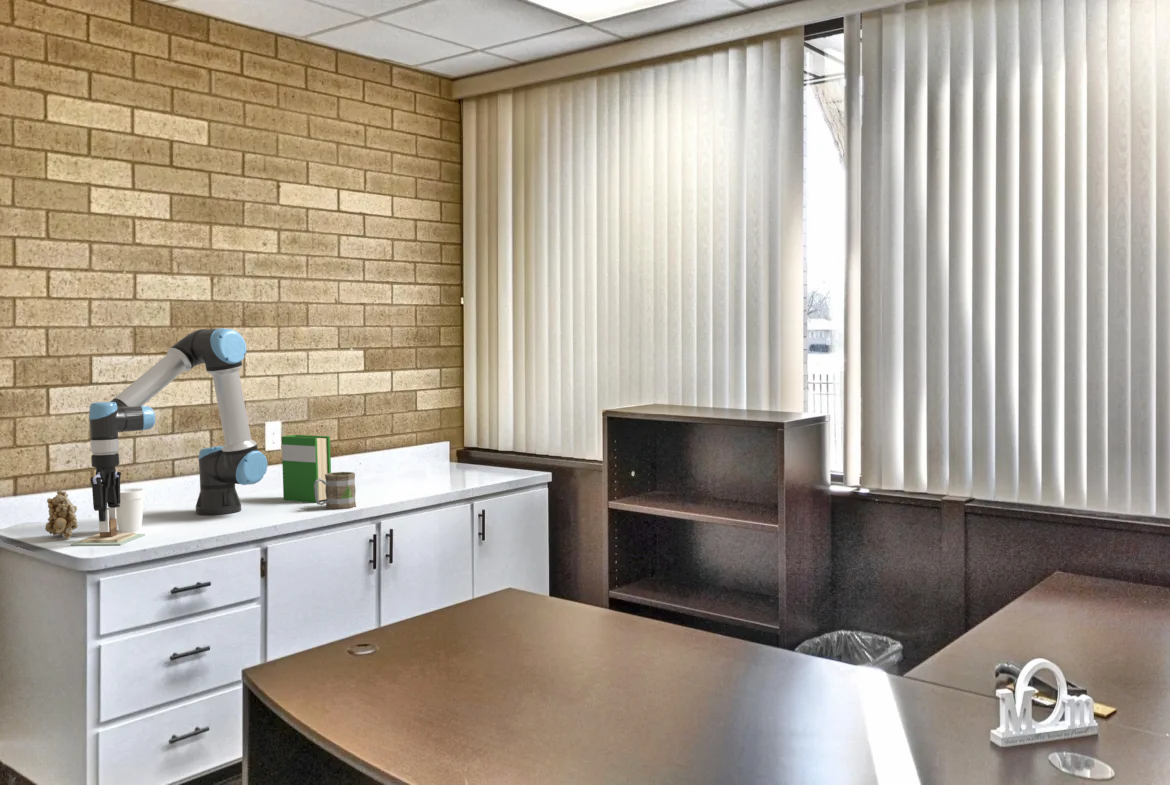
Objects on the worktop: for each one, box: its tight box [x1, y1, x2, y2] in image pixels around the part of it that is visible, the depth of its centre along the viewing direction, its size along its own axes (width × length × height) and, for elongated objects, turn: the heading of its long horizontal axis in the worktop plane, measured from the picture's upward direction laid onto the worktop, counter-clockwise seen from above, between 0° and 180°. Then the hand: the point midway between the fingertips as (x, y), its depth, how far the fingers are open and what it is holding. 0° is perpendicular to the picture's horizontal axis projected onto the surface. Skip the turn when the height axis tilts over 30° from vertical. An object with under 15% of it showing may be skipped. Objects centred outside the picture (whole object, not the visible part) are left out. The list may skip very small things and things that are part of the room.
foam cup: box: [116, 487, 146, 533], centre depth 313 cm, size 10×9×13 cm
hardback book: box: [281, 434, 332, 504], centre depth 370 cm, size 18×7×24 cm, turn 59°
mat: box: [70, 533, 146, 547], centre depth 298 cm, size 15×15×1 cm
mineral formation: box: [44, 489, 79, 540], centre depth 303 cm, size 8×13×15 cm, turn 50°
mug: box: [314, 471, 357, 511], centre depth 350 cm, size 16×11×12 cm
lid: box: [80, 519, 136, 543], centre depth 298 cm, size 11×11×6 cm
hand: (108, 530), depth 298 cm, fingers open, 4 cm apart
